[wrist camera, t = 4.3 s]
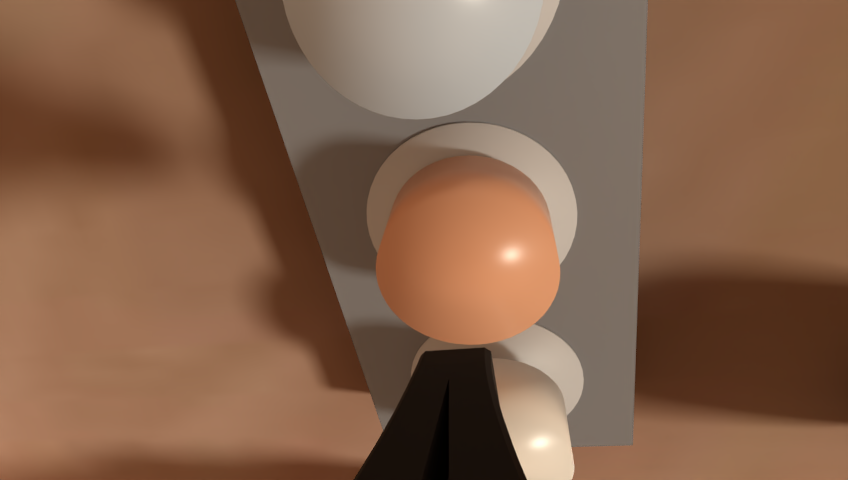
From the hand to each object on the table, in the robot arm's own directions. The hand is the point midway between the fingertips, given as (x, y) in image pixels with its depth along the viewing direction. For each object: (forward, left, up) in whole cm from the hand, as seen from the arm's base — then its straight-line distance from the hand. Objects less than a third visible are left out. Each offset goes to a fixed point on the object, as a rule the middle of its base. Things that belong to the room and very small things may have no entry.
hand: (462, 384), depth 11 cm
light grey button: (+3, +6, -5) cm, 9 cm away
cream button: (-3, -6, -5) cm, 9 cm away
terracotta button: (0, 0, -6) cm, 6 cm away
